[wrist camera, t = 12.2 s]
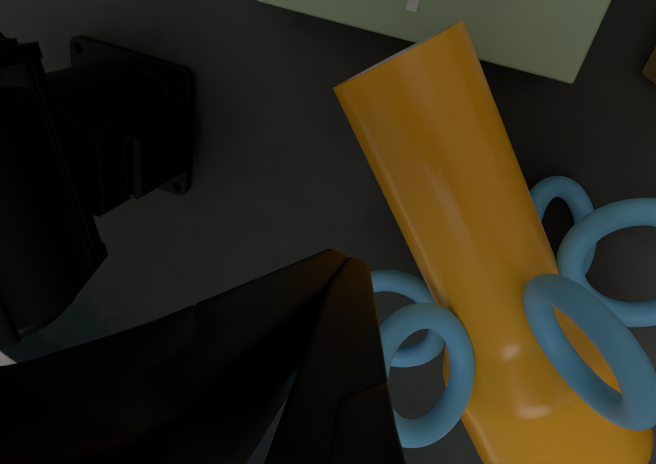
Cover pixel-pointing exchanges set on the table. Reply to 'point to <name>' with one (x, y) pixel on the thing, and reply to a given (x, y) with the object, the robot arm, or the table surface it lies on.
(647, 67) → the button block
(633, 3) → the table surface
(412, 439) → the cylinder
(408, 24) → the dial panel
